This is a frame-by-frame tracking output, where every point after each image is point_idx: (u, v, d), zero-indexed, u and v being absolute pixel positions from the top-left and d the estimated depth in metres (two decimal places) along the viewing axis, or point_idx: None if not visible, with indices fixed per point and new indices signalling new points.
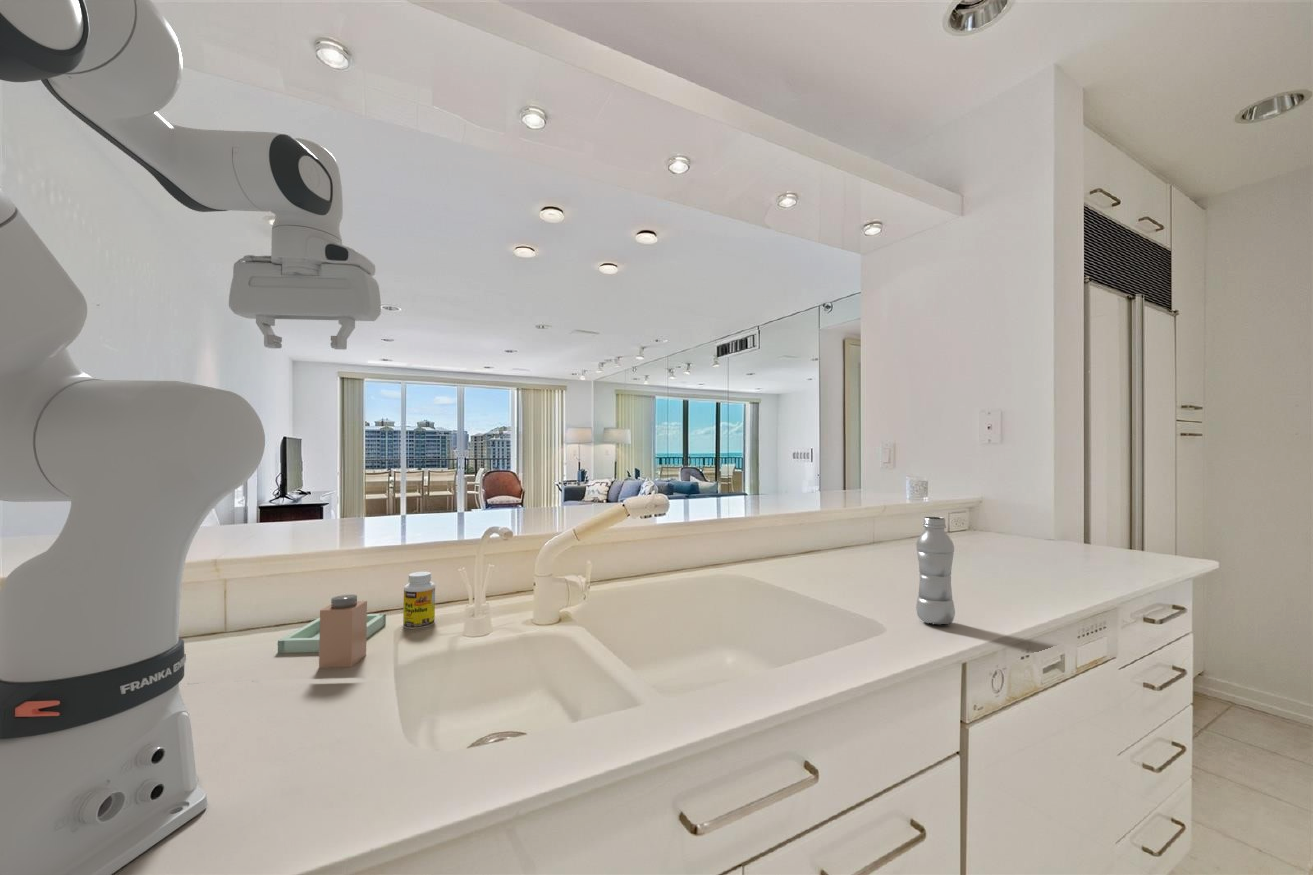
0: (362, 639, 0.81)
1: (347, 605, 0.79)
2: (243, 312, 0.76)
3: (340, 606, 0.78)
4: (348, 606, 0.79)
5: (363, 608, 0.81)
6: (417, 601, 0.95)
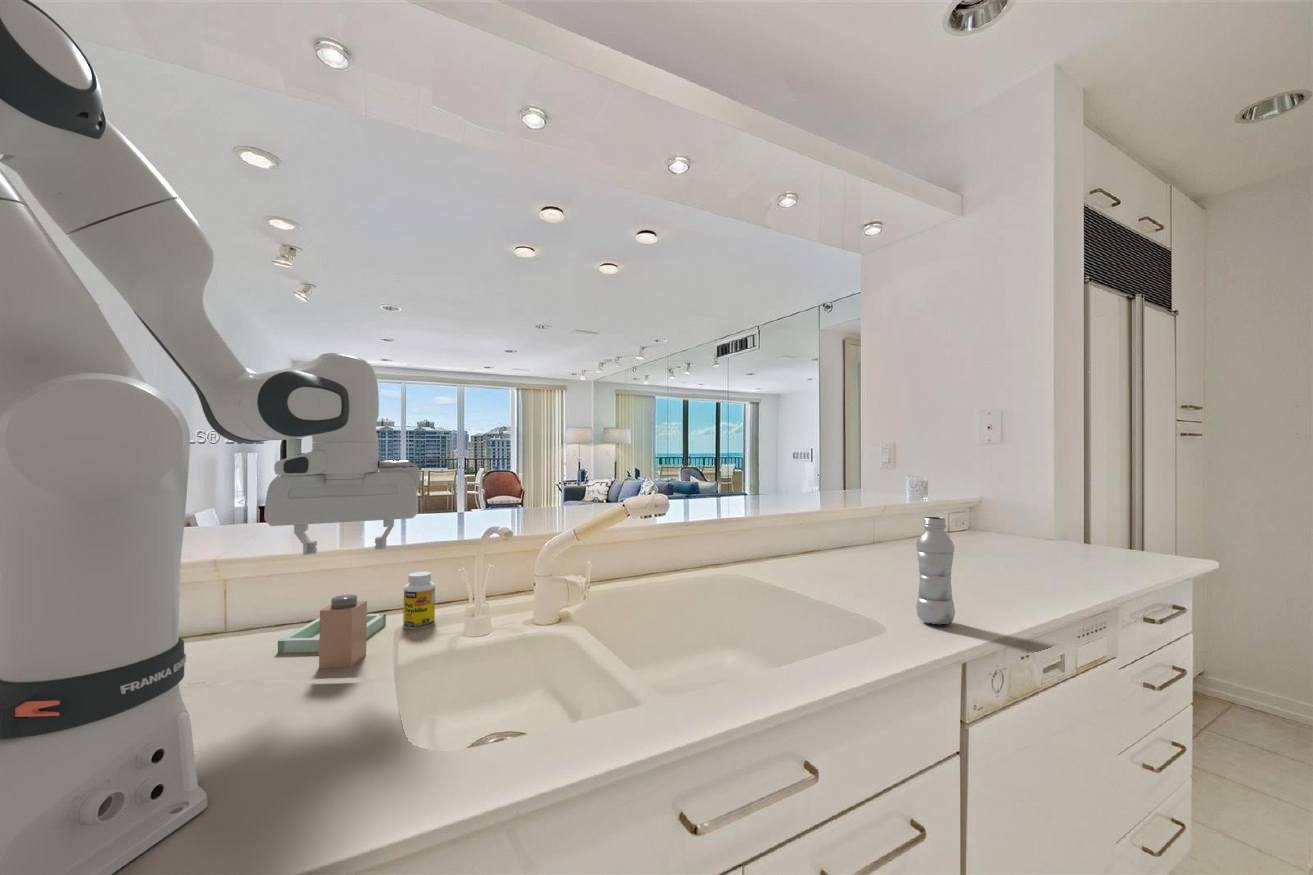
0: (362, 639, 0.81)
1: (347, 605, 0.79)
2: None
3: (340, 606, 0.78)
4: (348, 606, 0.79)
5: (363, 609, 0.81)
6: (417, 601, 0.95)
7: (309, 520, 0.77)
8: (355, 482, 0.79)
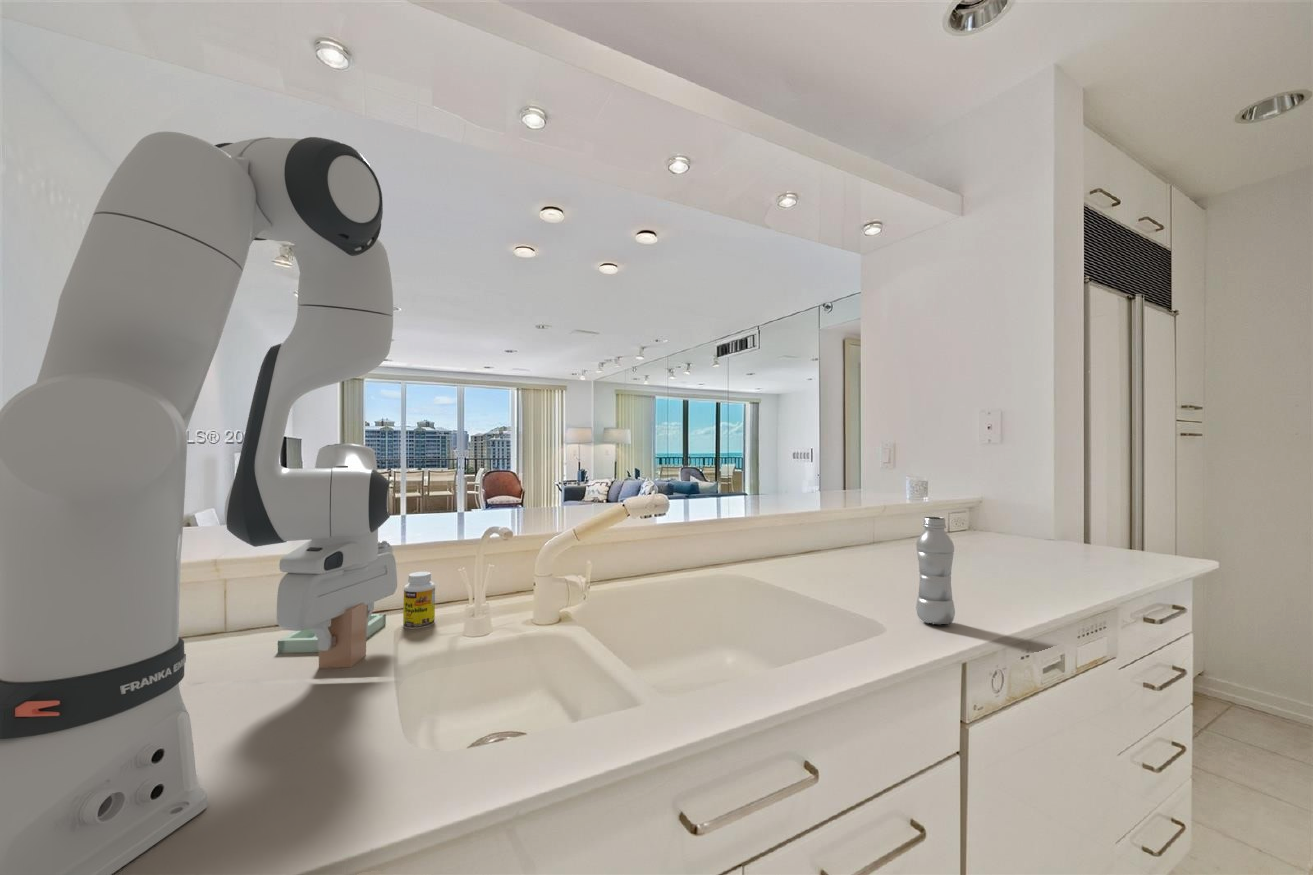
0: (362, 639, 0.81)
1: None
2: None
3: None
4: None
5: (362, 608, 0.81)
6: (417, 601, 0.95)
7: (331, 615, 0.75)
8: (368, 569, 0.81)
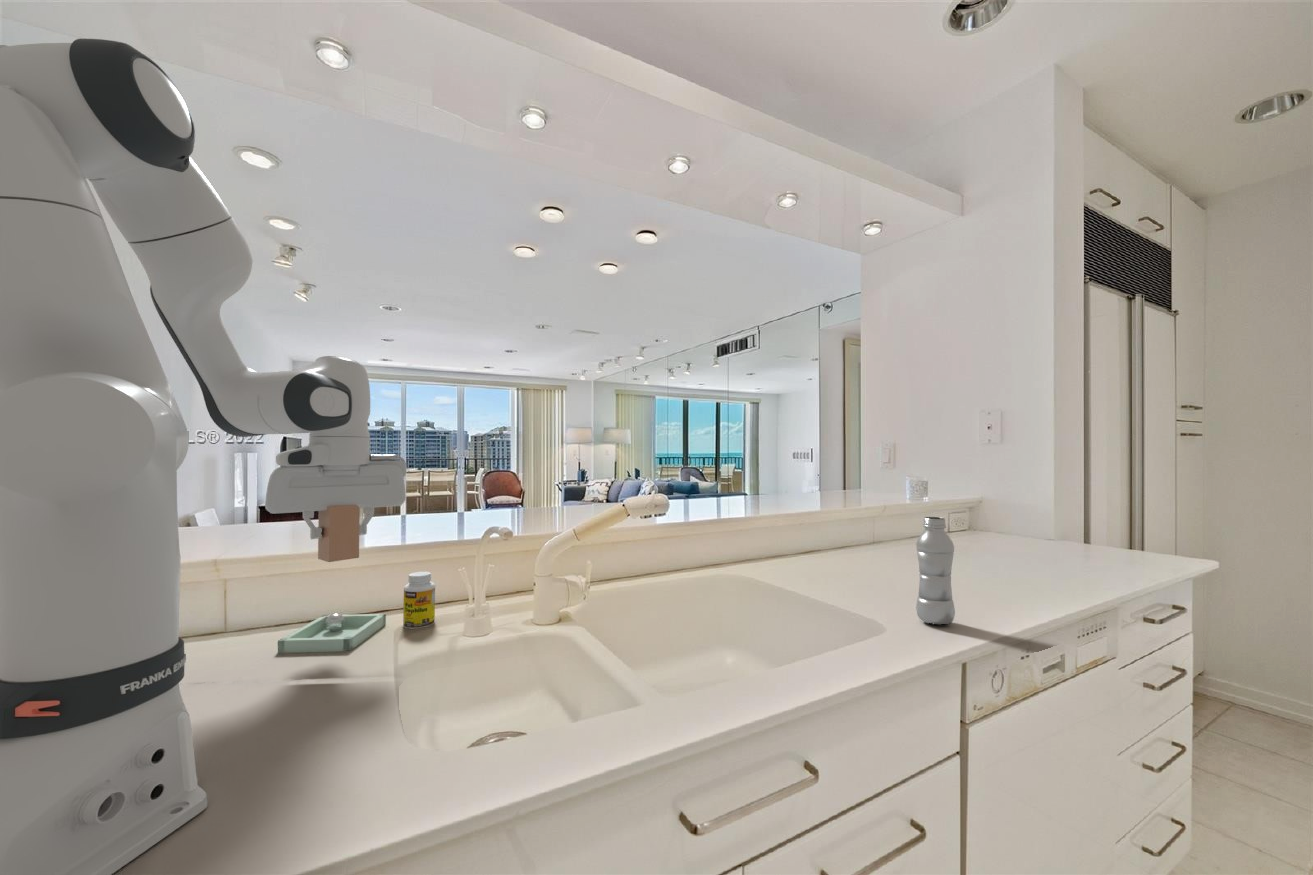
0: (351, 538, 0.88)
1: None
2: None
3: None
4: None
5: (351, 510, 0.88)
6: (417, 601, 0.95)
7: (308, 508, 0.84)
8: (352, 473, 0.87)
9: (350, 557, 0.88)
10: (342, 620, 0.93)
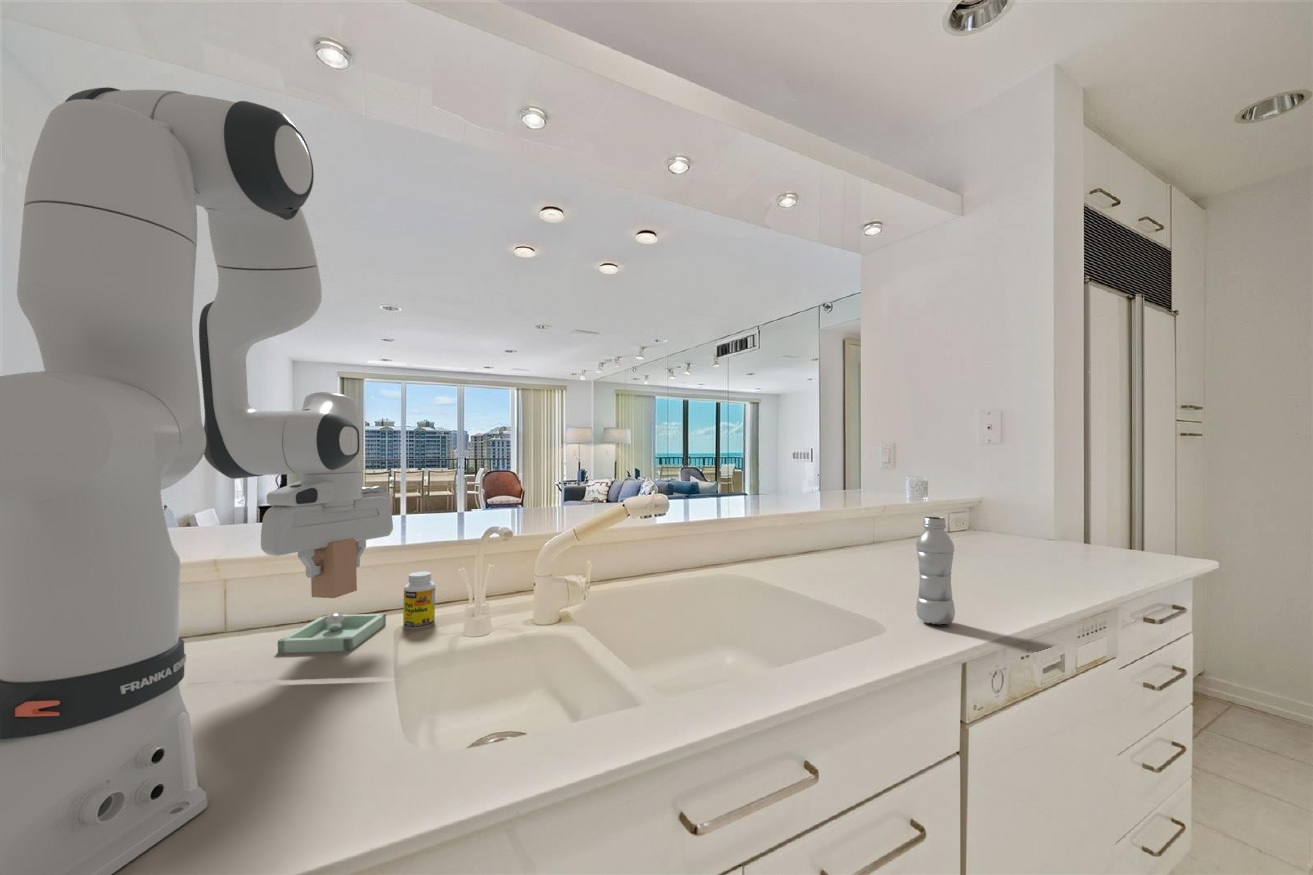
0: (350, 572, 0.89)
1: None
2: None
3: None
4: None
5: (349, 544, 0.89)
6: (418, 601, 0.95)
7: (311, 546, 0.84)
8: (351, 508, 0.89)
9: (350, 591, 0.89)
10: (342, 620, 0.93)
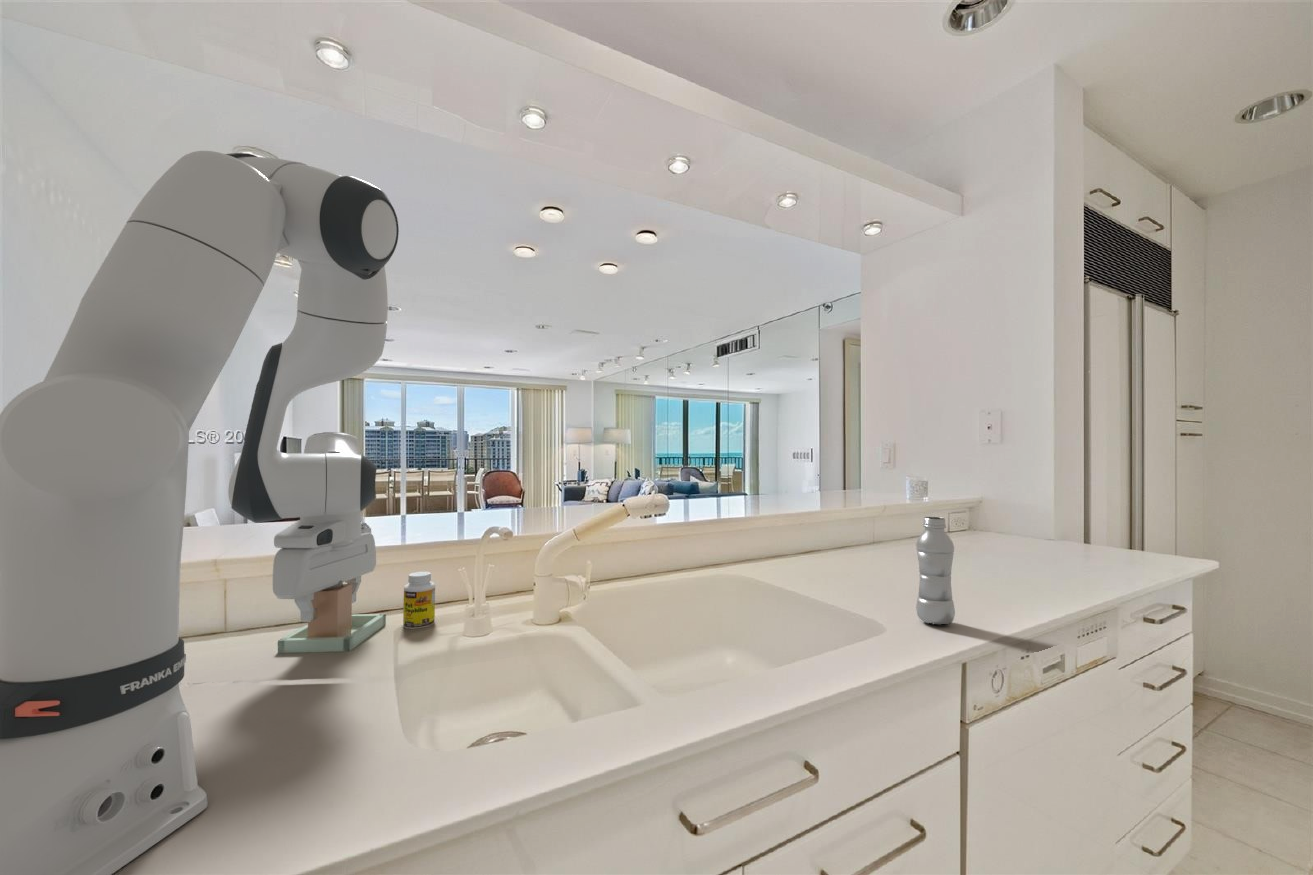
0: (347, 618, 0.89)
1: (333, 587, 0.87)
2: None
3: (327, 588, 0.86)
4: (334, 588, 0.87)
5: (348, 591, 0.89)
6: (417, 601, 0.95)
7: (321, 587, 0.83)
8: (352, 546, 0.89)
9: None
10: None
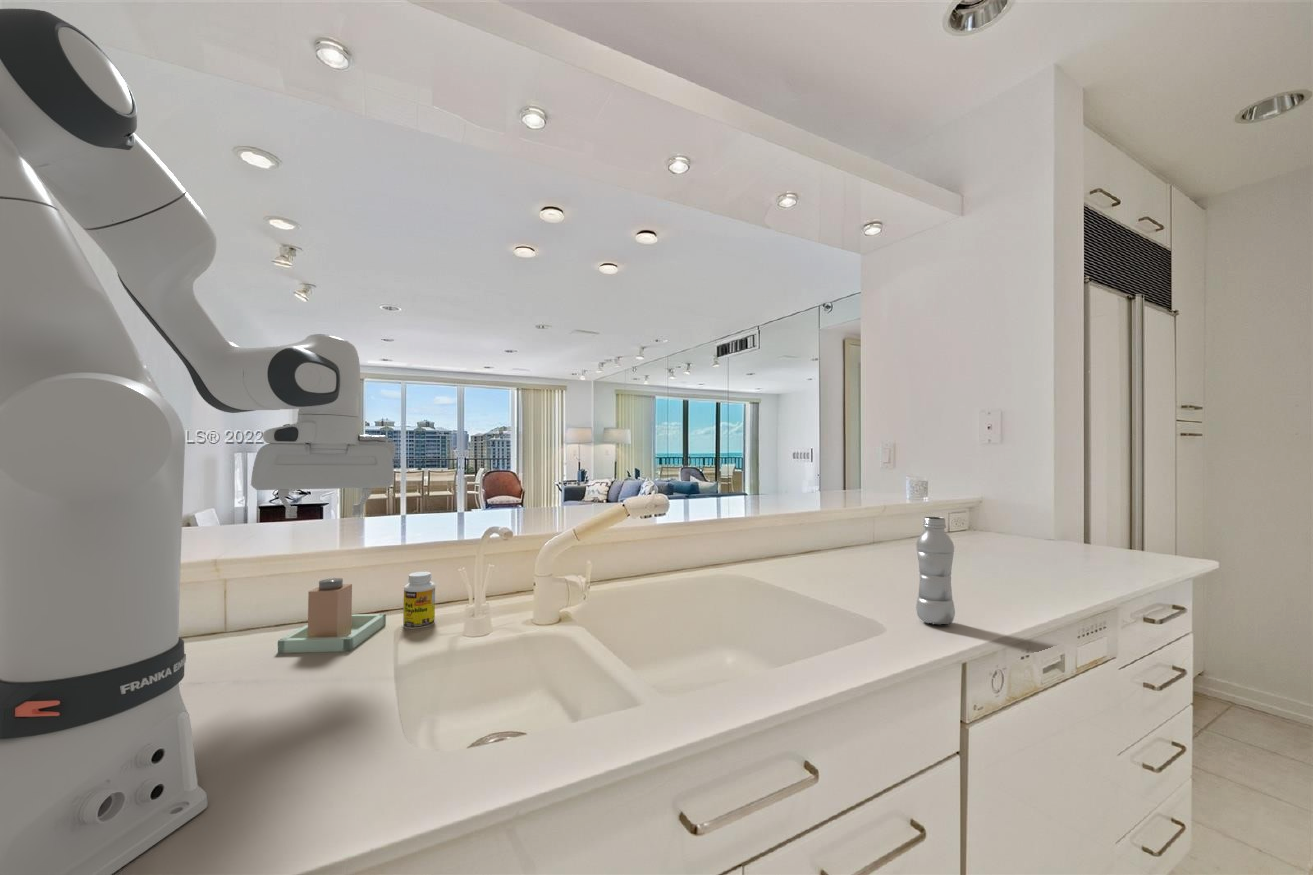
0: (347, 618, 0.89)
1: (333, 587, 0.87)
2: None
3: (327, 588, 0.86)
4: (334, 588, 0.87)
5: (348, 591, 0.89)
6: (417, 601, 0.95)
7: (294, 485, 0.84)
8: (339, 452, 0.87)
9: None
10: None
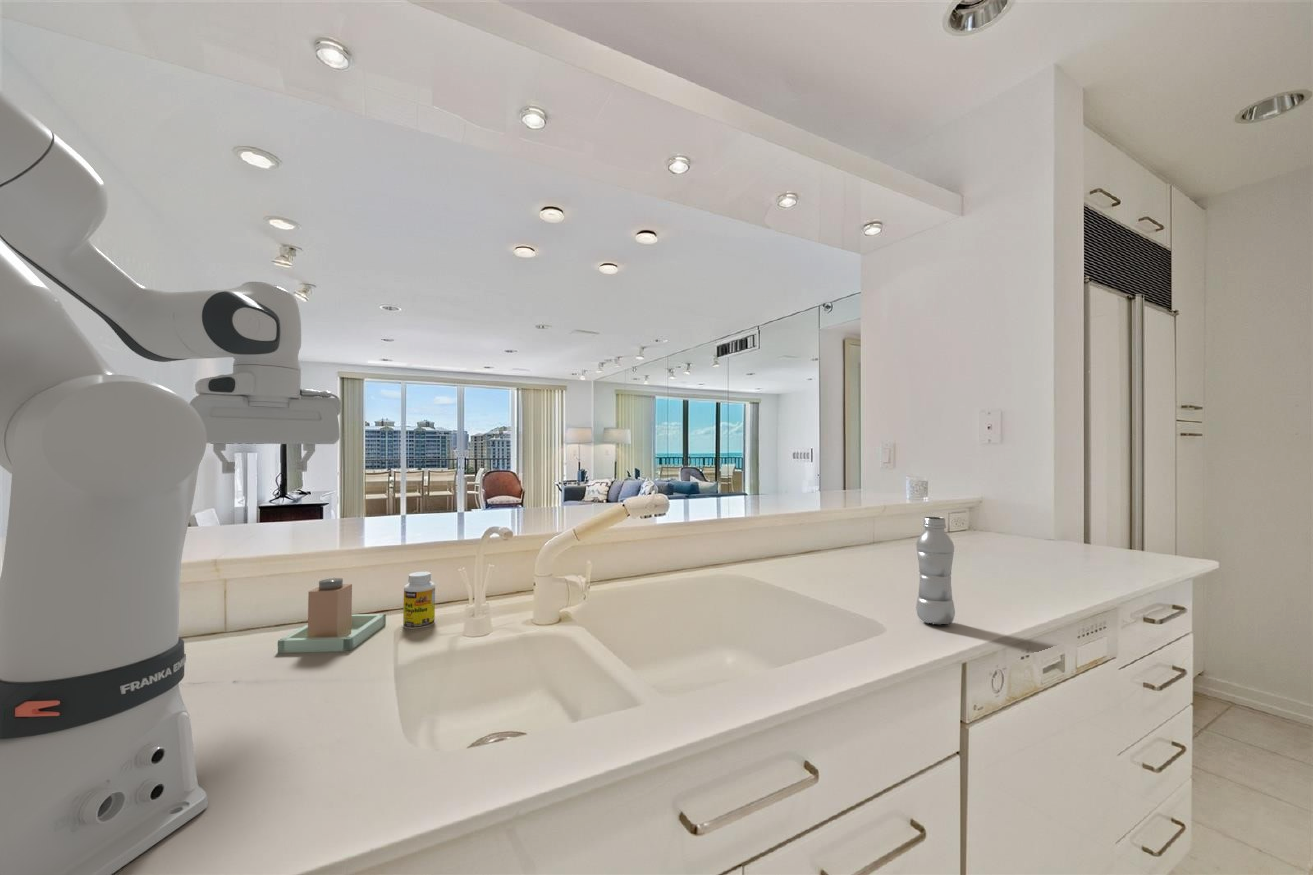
0: (347, 618, 0.89)
1: (333, 587, 0.87)
2: None
3: (327, 588, 0.86)
4: (334, 588, 0.87)
5: (348, 591, 0.89)
6: (417, 601, 0.95)
7: (231, 439, 0.80)
8: (281, 406, 0.84)
9: None
10: None
